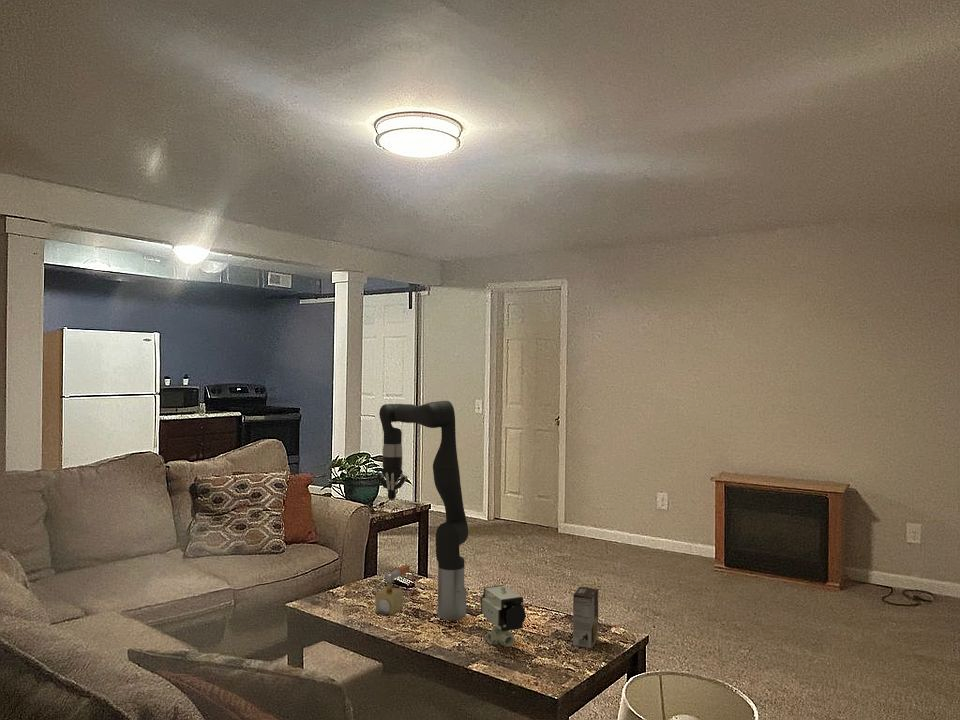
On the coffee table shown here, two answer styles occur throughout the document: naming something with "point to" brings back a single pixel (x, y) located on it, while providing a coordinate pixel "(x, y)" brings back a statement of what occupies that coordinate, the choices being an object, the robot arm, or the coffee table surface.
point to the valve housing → (389, 600)
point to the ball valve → (502, 613)
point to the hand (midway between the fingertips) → (391, 499)
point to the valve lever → (397, 573)
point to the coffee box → (585, 617)
